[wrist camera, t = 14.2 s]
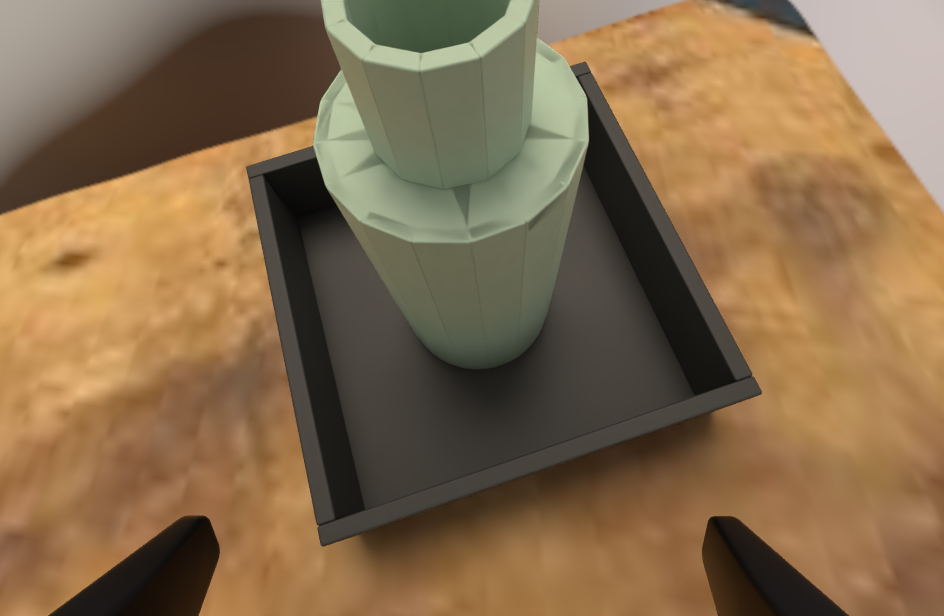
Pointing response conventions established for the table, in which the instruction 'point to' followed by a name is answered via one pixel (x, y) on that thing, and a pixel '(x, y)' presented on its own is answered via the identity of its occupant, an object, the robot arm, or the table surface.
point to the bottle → (454, 163)
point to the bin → (499, 388)
